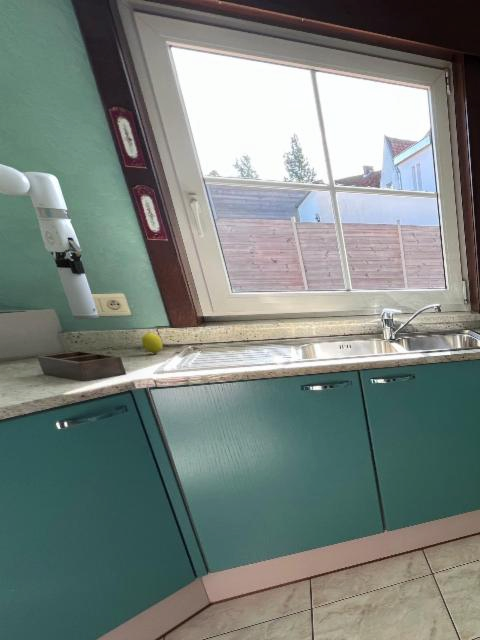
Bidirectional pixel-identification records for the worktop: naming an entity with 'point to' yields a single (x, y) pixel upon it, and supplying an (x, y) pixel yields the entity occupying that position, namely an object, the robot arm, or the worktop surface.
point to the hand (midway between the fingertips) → (72, 272)
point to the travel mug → (76, 291)
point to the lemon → (152, 343)
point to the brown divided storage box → (81, 365)
